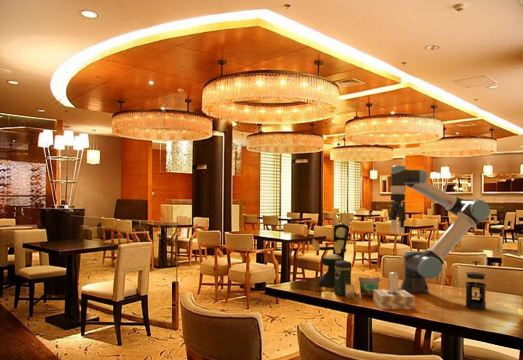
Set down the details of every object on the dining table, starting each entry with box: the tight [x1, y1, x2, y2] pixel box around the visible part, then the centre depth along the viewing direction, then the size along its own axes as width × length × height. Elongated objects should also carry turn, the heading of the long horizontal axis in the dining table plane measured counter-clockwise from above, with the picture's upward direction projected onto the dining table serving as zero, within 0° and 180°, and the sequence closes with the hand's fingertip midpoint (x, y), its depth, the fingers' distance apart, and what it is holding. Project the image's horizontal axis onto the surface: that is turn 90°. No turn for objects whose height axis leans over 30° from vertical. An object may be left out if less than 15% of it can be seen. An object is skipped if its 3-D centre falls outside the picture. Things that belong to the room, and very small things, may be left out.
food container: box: [358, 276, 381, 298], centre depth 248 cm, size 12×6×10 cm, turn 105°
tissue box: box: [372, 289, 416, 310], centre depth 227 cm, size 16×16×6 cm
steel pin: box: [388, 271, 399, 294], centre depth 228 cm, size 4×4×16 cm
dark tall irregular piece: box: [311, 210, 352, 288], centre depth 279 cm, size 19×22×45 cm
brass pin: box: [344, 283, 355, 300], centre depth 241 cm, size 4×4×7 cm
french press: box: [465, 260, 487, 311], centre depth 226 cm, size 12×9×23 cm
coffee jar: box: [333, 259, 353, 297], centre depth 251 cm, size 10×8×19 cm
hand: (397, 232), depth 250 cm, fingers open, 13 cm apart
